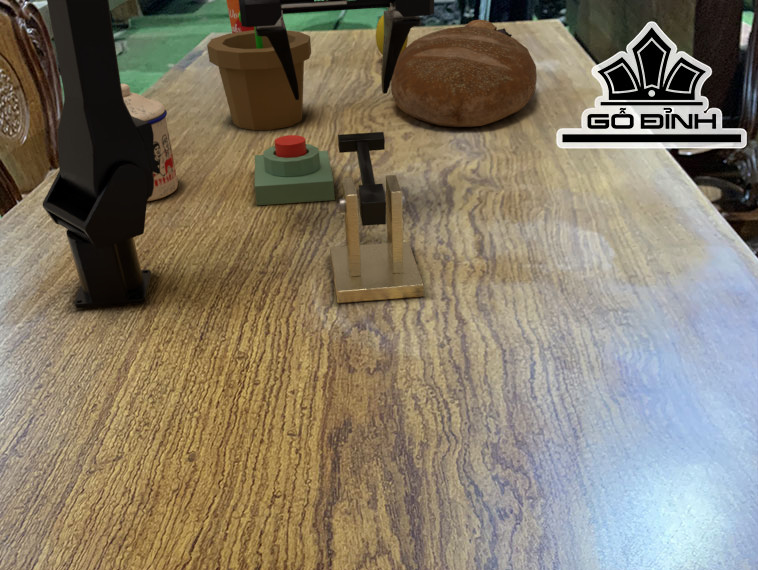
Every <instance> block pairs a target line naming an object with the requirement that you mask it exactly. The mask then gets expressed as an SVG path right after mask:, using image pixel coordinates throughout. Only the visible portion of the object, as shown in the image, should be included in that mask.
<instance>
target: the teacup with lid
mask: <svg viewBox="0 0 758 570" xmlns="http://www.w3.org/2000/svg"><path fill="white" fill-rule="evenodd" d="M121 89H122V95H123V99H124V102H125V104H126V106H127V108H128V110H129V112H130V114H131V116H133V117H135V118H138V119H140V120H143V121H146V122H148V123H150V124H151V125H152V130H153V134H154V143H153V149H154V157H155V161H156V164H157V166H158V168H159V170H160V173H159V174H157V173H155V172H153V175H154V190H153V194H152V196H151V197H149V199H148V200H147V202H150V201H151V202H153V201H155V200H160V199H163V198H165V197H167V196H170V195H171V194H173V193H174V192H175V191H176V190H178V189H177V188H178V186H179V181H178V178H177V177H178V176H177V170H176V166H175V165H176V164H175V159H174V156H173V154H174V153H173V150H172V149H173V148H172V144H171V139H170V134H169V128H168V121H167V115H168V111H167V110H166V108H165V105H163V103H161V102H160V101H158V100H155V99H150V98H146V97H144V96H142V95H141V94H139V93H136V92H131V87H130V86H129V85H128V84H127V83H121Z"/></svg>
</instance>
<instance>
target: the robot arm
mask: <svg viewBox="0 0 758 570" xmlns="http://www.w3.org/2000/svg"><path fill="white" fill-rule="evenodd" d="M109 1H110V0H46V4H47V9H48V13H49V19H50V20H49V21H50V23H51V24H50V25H51V31H52V34H53V41H54V46H55V51H56V57H57V62H58V68H59V72H60V78H61V83H62V89H63V105H62V110H61V114H60V119H59V122H58V128H57V151H58V152H57V153H58V169H59V170H58V172H57V174H56V175H55V178H54V180H53V181H52V184H51V185H50V188H49V189H48V191H47V194H46V195H45V198H44V199H43V201H42V208H43V209H44V210H45V213H47V215H48V216H49V218H50V219H51V220H52V221H53V223H54V224H55V225H58V226H59V225H60V226H62V227H63V228H65V229H66V232H65V233H66V237H67V241H68V244H69V248H70V252H71V255H72V258H73V262H74V265H75V269H76V272H77V276H78V279H79V282H80V286H79V288H78V291H77V293H76V296H75V299H74V300H73V301H74V302H73V304H74V307H75V308H76V309H87V308H102V307H114V306H125V305H126V306H128V305H140V304H144V303H146V301H147V298H148V293H149V290H150V286H151V285H150V284H151V280H152V276H153V274H152V271H151V269H142V268H141V263H140V259H139V255H138V251H137V247H136V242H135V237H139V236H141V235H143V234H144V233H145V226H146V214H147V205H148V204H147V203H148V201H147V200H148V199H149V197H151V196H152V194H153V190H154V175H153V172H155V173H157V174H159V173H160V170H159V168H158V166H157V164H156V161H155V157H154V149H153V143H154V134H153V130H152V125H151V124H150V123H148V122H146V121H143V120H140V119H138V118H135V117H133V116H131V114H130V112H129V110H128V108H127V106H126V104H125V102H124V99H123V95H122V89H121V84H122V82H121V76H120V70H119V64H118V63H119V62H118V56H117V49H116V43H115V34H114V29H113V21H112V14H111V7H110V2H109ZM384 8H387V10H383V15H384V42H383V55H382V58H381V59H382V61H381V75H380V77H381V79H380V80H381V92H382V93H383V95H384V94H386V95H387V94H388V91H389V90H390V89H389V88H390V87H391V79H392V76H393V73H394V70H395V67H396V63H397V60H398V57H399V54H400V52H401V50H402V47H403V45H404V43H405V41H406V39H407V36H408V37H409V34H410V32H411V31H412V28H414V27H419V26H421V25H422V19H421V17H424V16H425V17H427V16H432V15H435V0H239V9H240V17H241V25H242V26H243V27H255V29H256V35H257V36H266V37H267V38H268V39H269V41H270V43H271V45H272V47H273V49H274V50H275V52H276V54H277V56H278V58H279V60H280V62H281V64H282V66H283V69H284V71H285V74H286V77H287V79H288V82H289V84H290V87H291V90H292V92H293V95H294V97H295V100H299V89H298V82H297V77H296V73H295V68H294V63H293V59H292V54H291V49H290V44H289V40H288V35H287V30H288V29H287V26H286V23H285V20H284V15H289V14H291V15H292V14H306V13H321V12H322V13H323V12H335V11H336V12H337V11H351V10H352V11H353V10H364V9H365V10H368V9H384Z"/></svg>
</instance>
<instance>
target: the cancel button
mask: <svg viewBox="0 0 758 570" xmlns="http://www.w3.org/2000/svg"><path fill="white" fill-rule="evenodd" d="M306 141H307V140H306V138H305V137H304V136H301V135H297V134H288V135H282V136H279V137H276V138H275V139H274V146H275V150H276V156H278V157H283V158H294V157H300V156H304V155H306V154H307V152H306V144H307V142H306Z"/></svg>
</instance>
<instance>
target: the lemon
mask: <svg viewBox="0 0 758 570" xmlns="http://www.w3.org/2000/svg"><path fill="white" fill-rule="evenodd" d="M383 42H384V14H382V16H380V18H379V20H378V21H377V23H376V29H375V43H376V47H377V50H378V51H379V53H380V54H381V55H382V56H383ZM408 42H409V35H408V36H407V39H406V41H405V43H404V45H403V47H402V50H401V52H402V51H403V50H404V49H405V48H406V47H407V46H408ZM401 52H400V53H401ZM399 55H400V54H399Z"/></svg>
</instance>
